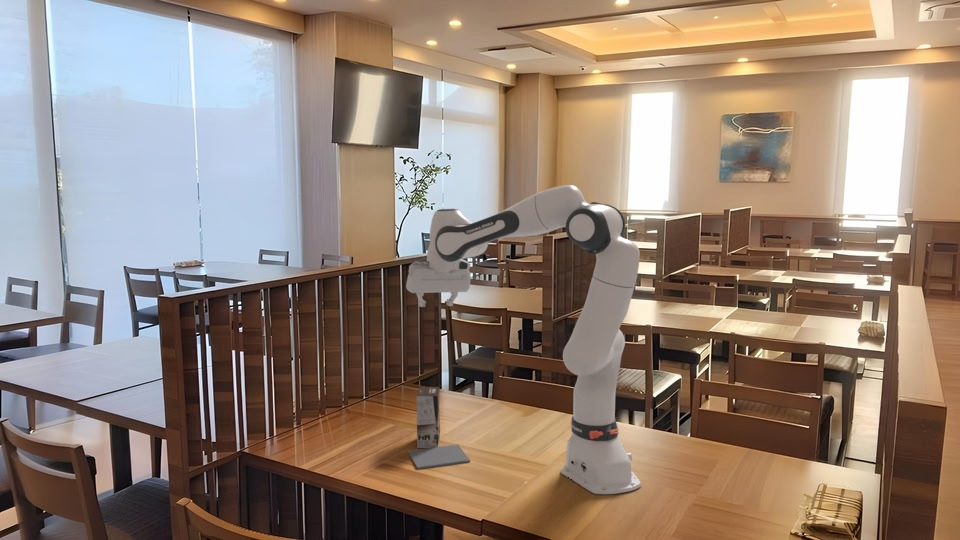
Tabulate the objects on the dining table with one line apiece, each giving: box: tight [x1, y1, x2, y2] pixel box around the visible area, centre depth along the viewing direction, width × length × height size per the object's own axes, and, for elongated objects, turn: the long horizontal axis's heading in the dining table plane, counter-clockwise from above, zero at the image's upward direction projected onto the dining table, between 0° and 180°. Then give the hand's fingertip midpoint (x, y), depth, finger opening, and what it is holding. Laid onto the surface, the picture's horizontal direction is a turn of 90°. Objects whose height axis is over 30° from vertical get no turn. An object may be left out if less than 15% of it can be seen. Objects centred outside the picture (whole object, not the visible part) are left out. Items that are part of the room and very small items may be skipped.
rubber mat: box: [408, 443, 471, 470], centre depth 192 cm, size 12×15×1 cm
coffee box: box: [416, 386, 441, 449], centre depth 202 cm, size 9×6×16 cm
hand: (435, 305), depth 204 cm, fingers open, 8 cm apart
